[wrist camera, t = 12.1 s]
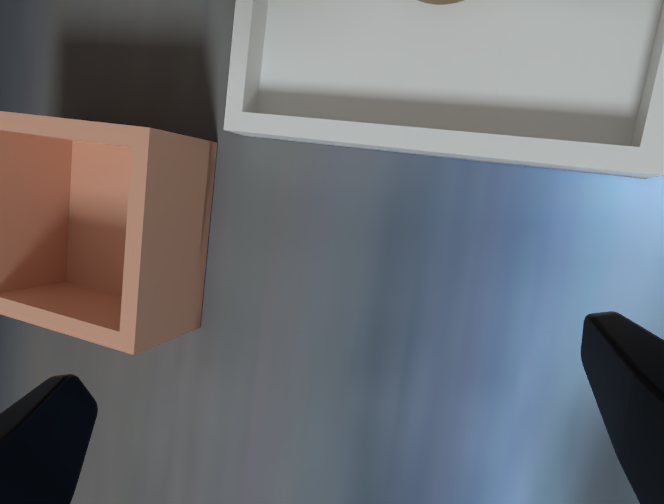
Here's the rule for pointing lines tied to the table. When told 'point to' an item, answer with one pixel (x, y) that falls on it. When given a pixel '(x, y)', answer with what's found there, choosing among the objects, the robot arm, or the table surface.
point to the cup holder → (103, 228)
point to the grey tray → (457, 79)
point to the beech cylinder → (440, 1)
